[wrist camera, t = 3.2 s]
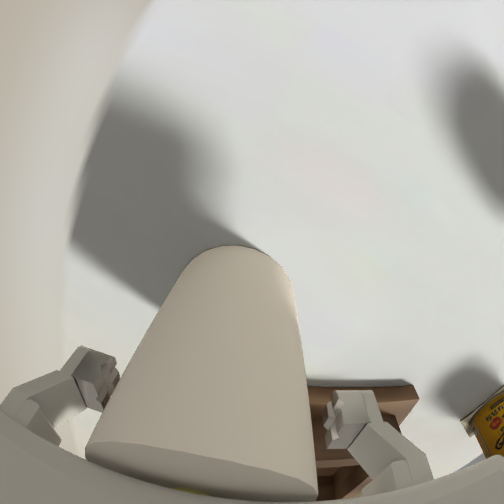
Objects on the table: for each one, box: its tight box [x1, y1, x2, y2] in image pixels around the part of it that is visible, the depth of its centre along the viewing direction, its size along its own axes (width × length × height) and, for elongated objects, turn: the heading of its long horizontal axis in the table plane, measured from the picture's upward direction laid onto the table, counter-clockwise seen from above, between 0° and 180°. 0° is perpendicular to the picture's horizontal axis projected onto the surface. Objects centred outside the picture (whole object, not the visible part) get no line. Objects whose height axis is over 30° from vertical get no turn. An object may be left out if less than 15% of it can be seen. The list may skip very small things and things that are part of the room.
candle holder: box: [307, 385, 419, 501], centre depth 18 cm, size 16×14×5 cm
